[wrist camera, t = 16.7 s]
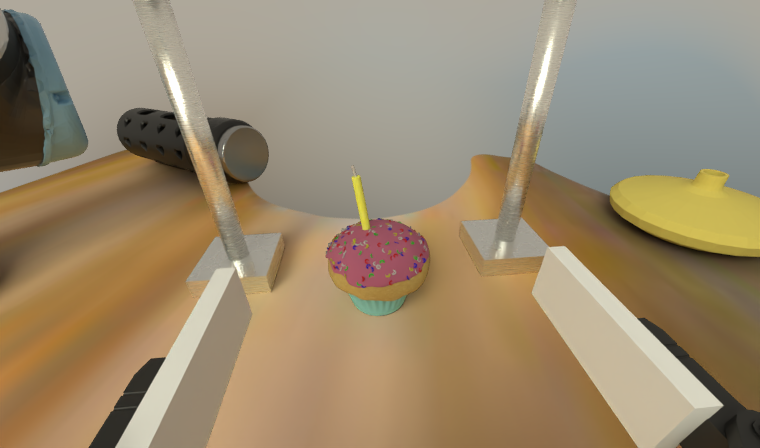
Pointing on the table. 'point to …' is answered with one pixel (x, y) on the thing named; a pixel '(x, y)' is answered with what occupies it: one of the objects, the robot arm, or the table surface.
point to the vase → (692, 211)
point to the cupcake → (377, 260)
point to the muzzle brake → (166, 144)
